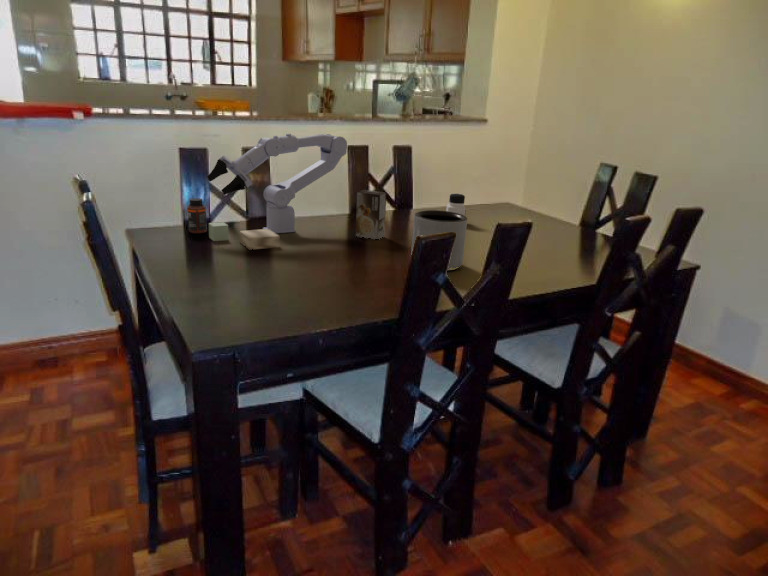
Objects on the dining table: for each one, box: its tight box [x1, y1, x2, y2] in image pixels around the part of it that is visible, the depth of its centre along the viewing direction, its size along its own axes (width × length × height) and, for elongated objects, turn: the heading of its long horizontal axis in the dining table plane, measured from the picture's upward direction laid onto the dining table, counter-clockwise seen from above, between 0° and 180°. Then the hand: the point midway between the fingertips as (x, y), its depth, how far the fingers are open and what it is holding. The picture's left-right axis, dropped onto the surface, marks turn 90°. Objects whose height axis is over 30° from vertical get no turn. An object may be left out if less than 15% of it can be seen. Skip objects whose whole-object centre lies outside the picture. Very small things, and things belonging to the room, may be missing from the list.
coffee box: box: [355, 189, 387, 240], centre depth 198 cm, size 9×6×16 cm
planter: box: [410, 209, 468, 269], centre depth 170 cm, size 16×16×16 cm
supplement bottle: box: [187, 198, 208, 234], centre depth 191 cm, size 6×6×11 cm
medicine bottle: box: [445, 193, 467, 216], centre depth 229 cm, size 7×7×12 cm
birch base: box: [239, 228, 281, 251], centre depth 182 cm, size 10×10×4 cm
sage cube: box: [208, 221, 230, 242], centre depth 186 cm, size 5×5×5 cm
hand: (215, 185), depth 183 cm, fingers open, 7 cm apart
